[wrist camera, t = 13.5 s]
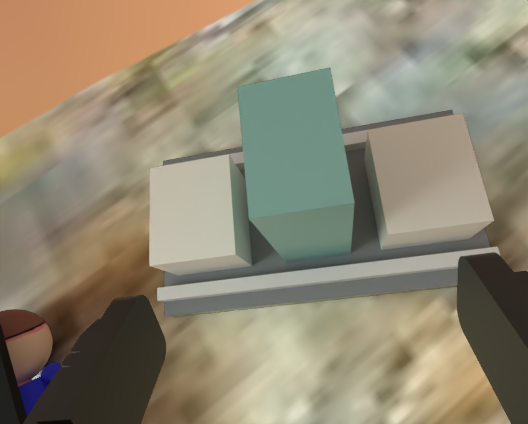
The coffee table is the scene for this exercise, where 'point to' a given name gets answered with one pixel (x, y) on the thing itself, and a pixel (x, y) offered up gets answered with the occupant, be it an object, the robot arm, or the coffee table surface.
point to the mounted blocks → (381, 189)
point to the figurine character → (23, 363)
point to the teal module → (297, 166)
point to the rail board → (322, 269)
